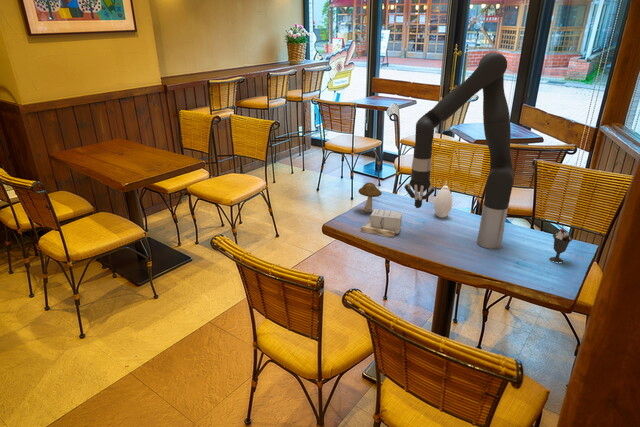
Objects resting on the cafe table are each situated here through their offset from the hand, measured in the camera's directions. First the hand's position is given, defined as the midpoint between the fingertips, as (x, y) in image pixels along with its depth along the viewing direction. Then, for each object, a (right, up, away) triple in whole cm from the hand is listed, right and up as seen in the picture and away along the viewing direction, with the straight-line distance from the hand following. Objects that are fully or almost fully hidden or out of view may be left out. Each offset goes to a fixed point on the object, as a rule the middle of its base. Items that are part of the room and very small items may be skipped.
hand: (417, 207), depth 181 cm
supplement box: (-6, -7, +6) cm, 11 cm away
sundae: (+50, -21, -14) cm, 56 cm away
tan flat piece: (-14, -9, +11) cm, 20 cm away
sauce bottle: (+16, -4, +23) cm, 28 cm away
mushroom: (-18, -2, +26) cm, 32 cm away
